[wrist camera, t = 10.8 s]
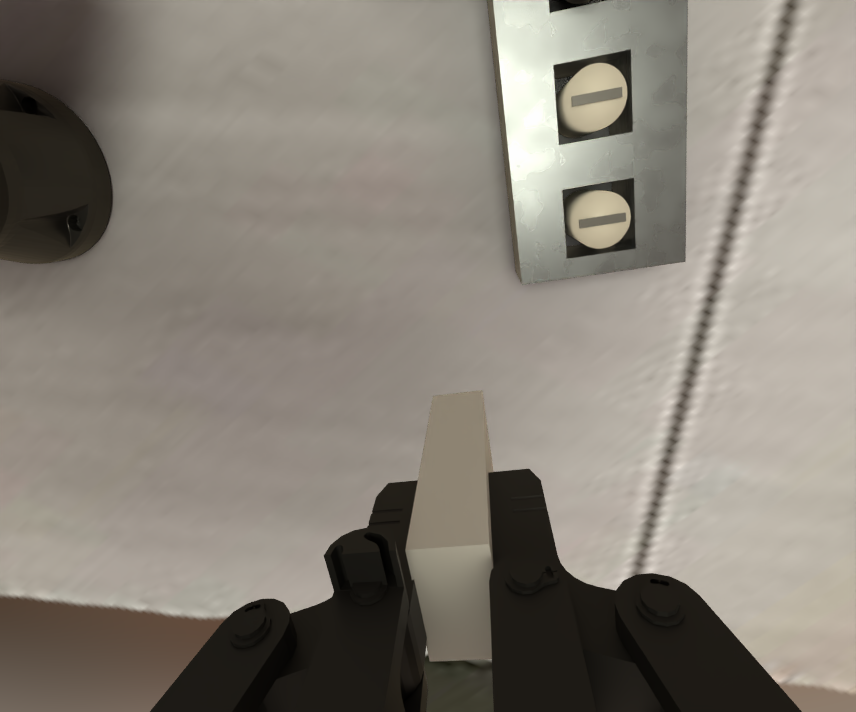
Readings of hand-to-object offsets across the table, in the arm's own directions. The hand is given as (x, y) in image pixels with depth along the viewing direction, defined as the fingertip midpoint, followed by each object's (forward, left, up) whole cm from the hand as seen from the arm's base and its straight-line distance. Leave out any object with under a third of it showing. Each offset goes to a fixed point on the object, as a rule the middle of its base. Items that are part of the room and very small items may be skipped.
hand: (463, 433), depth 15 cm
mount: (+10, +11, -30) cm, 34 cm away
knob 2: (+10, +3, -30) cm, 32 cm away
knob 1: (+10, +11, -30) cm, 34 cm away
